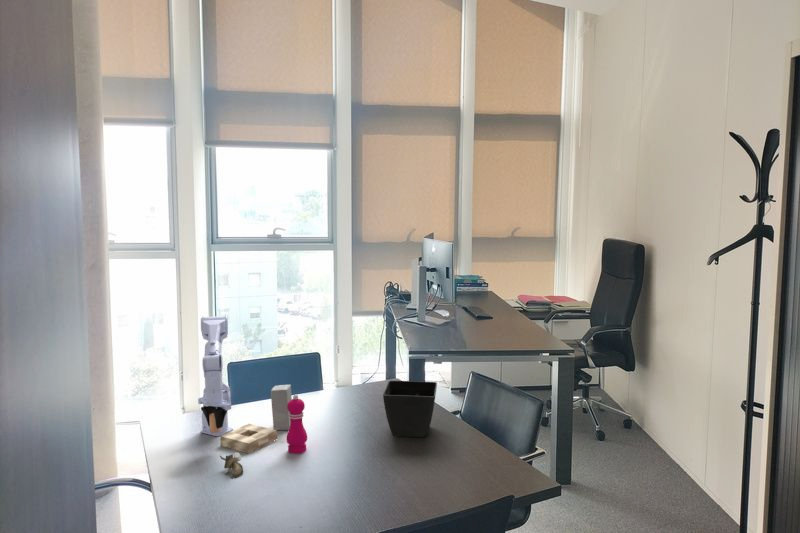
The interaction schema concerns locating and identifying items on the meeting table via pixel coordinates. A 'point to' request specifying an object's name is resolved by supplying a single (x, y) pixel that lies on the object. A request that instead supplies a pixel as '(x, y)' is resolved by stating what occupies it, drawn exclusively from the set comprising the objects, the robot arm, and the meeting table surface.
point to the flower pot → (409, 407)
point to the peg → (213, 424)
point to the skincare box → (281, 406)
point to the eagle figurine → (233, 465)
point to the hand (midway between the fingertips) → (215, 426)
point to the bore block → (248, 438)
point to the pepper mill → (296, 426)
